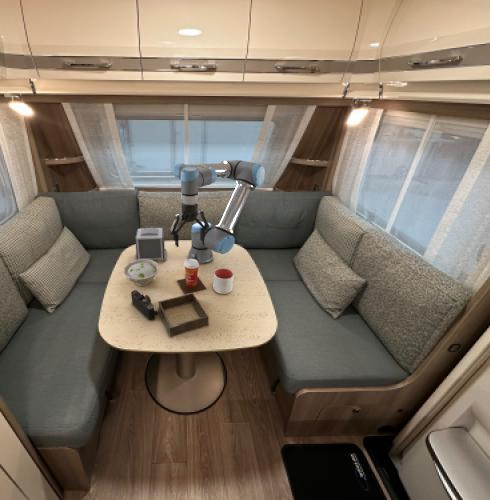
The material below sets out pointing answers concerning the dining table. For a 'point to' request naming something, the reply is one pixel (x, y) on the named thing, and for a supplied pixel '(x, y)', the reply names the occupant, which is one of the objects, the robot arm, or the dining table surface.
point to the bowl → (141, 271)
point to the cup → (223, 280)
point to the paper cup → (191, 272)
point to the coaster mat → (191, 289)
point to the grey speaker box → (150, 244)
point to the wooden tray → (186, 325)
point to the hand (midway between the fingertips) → (189, 243)
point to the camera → (143, 305)
